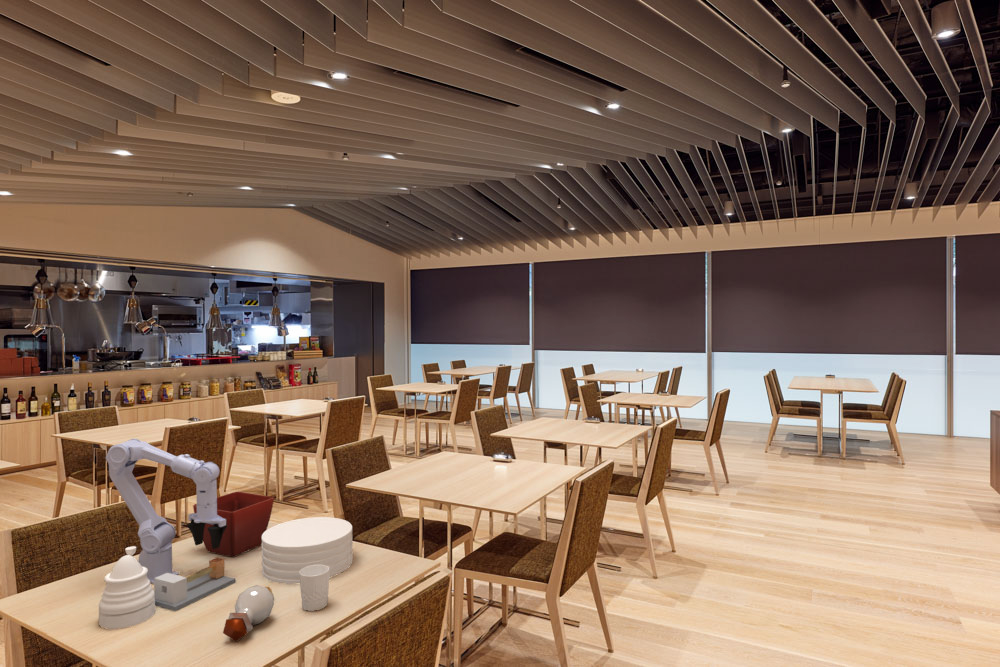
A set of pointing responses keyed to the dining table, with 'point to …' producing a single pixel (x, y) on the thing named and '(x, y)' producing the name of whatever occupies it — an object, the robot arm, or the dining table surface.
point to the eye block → (185, 589)
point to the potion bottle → (249, 611)
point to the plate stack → (306, 547)
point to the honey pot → (126, 594)
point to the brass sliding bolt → (210, 570)
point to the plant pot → (240, 522)
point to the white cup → (314, 587)
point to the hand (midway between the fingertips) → (207, 546)
